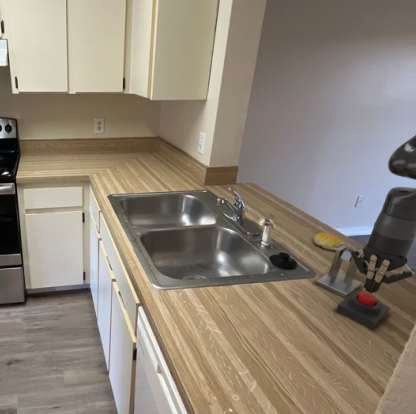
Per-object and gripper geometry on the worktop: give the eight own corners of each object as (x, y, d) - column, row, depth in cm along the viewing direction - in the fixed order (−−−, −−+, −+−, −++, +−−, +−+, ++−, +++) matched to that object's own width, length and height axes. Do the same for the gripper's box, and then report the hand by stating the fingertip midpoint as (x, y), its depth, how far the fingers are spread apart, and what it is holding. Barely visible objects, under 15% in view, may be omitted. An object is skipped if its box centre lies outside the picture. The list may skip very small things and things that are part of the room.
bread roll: (322, 237, 125) (325, 228, 124) (346, 248, 118) (350, 238, 116) (307, 241, 123) (309, 231, 121) (330, 253, 115) (333, 242, 113)
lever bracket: (331, 272, 104) (342, 240, 99) (360, 285, 98) (373, 251, 93) (315, 283, 99) (326, 249, 94) (345, 298, 93) (358, 262, 88)
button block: (352, 297, 93) (357, 285, 92) (387, 313, 87) (392, 301, 86) (336, 310, 88) (340, 298, 87) (371, 329, 82) (377, 316, 80)
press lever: (348, 254, 103) (351, 247, 103) (368, 262, 99) (372, 255, 99) (333, 255, 96) (337, 248, 96) (355, 264, 92) (359, 256, 91)
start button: (360, 295, 89) (363, 290, 88) (377, 302, 86) (379, 297, 85) (355, 300, 87) (357, 294, 86) (371, 308, 84) (373, 302, 83)
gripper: (436, 238, 75) (407, 300, 82) (367, 217, 85) (347, 274, 92) (425, 247, 71) (396, 311, 78) (354, 224, 81) (334, 283, 88)
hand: (369, 291), depth 85 cm, fingers closed
